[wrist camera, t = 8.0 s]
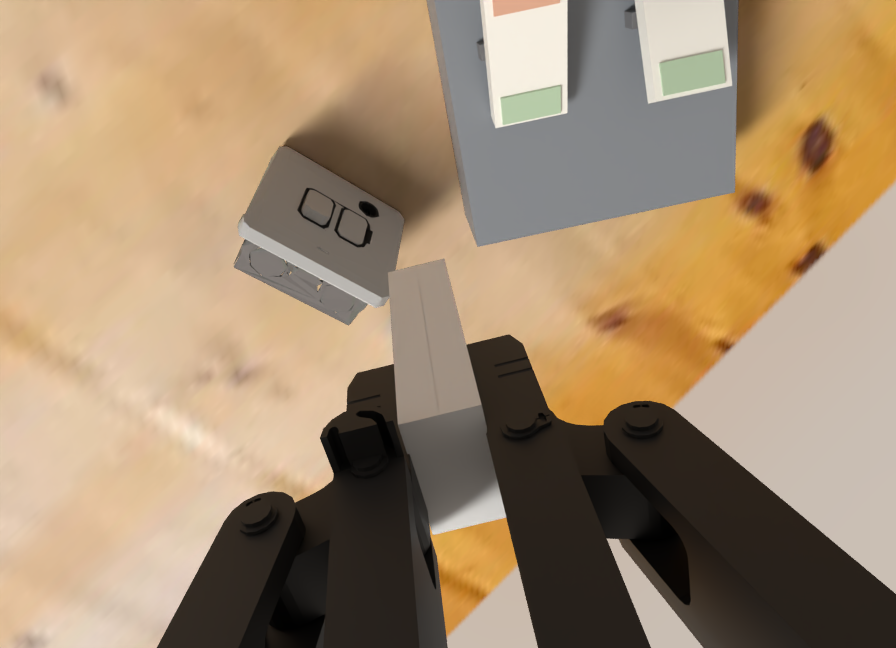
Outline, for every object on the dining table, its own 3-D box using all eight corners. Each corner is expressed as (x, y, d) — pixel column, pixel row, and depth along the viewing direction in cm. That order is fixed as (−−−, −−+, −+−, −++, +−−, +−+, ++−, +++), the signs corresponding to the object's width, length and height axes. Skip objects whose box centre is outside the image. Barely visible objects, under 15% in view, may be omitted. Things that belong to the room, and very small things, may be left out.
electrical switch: (406, 213, 47) (406, 279, 39) (368, 270, 49) (360, 344, 41) (281, 139, 44) (253, 195, 36) (246, 204, 46) (212, 269, 38)
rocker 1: (476, -33, 32) (482, -21, 31) (560, -50, 32) (568, -39, 31) (491, 116, 38) (496, 129, 37) (561, 101, 38) (568, 114, 37)
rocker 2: (626, -60, 34) (635, -69, 33) (704, -77, 34) (716, -86, 33) (648, 103, 36) (656, 101, 35) (722, 88, 36) (733, 85, 35)
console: (395, -173, 37) (401, -201, 30) (689, -235, 37) (756, -276, 30) (465, 214, 47) (480, 254, 41) (693, 166, 47) (744, 198, 41)
